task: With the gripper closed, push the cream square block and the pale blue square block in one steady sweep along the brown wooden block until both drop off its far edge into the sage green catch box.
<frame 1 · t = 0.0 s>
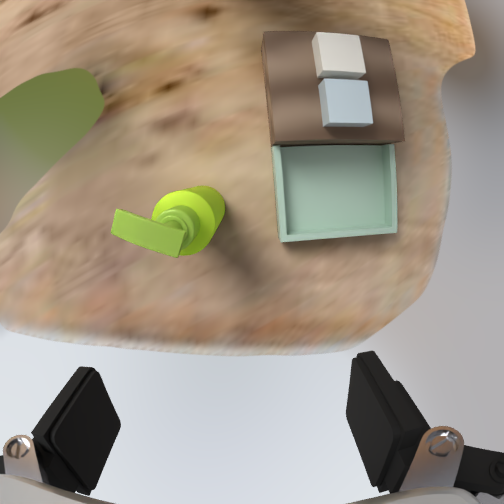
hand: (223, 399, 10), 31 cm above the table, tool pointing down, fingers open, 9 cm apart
brown wooden block: (325, 94, 35), on the table
cream square block: (334, 60, 29), point 6 cm above the table, touching brown wooden block
catch box: (334, 189, 39), on the table
soap dispenser: (199, 206, 39), on the table
pale blue square block: (341, 105, 30), point 6 cm above the table, touching brown wooden block
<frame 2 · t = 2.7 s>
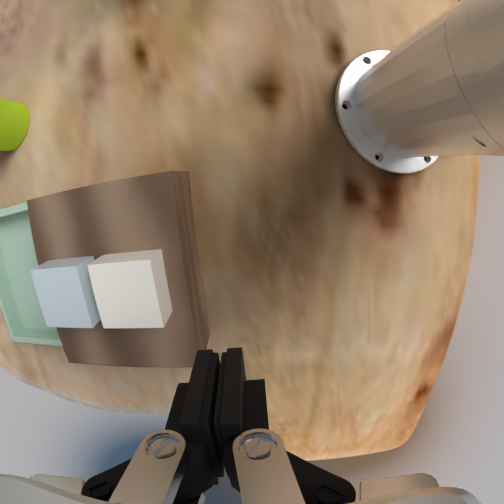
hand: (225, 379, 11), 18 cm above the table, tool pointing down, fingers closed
brown wooden block: (130, 263, 28), on the table
cream square block: (137, 282, 22), point 6 cm above the table, touching brown wooden block
catch box: (36, 271, 28), on the table
soap dispenser: (15, 122, 24), on the table
pale blue square block: (76, 286, 22), point 6 cm above the table, touching brown wooden block
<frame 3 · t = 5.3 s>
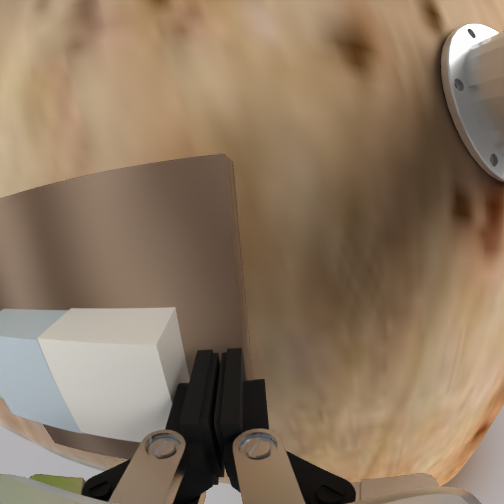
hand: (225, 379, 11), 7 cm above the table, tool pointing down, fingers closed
brown wooden block: (134, 306, 18), on the table
cream square block: (132, 359, 12), point 6 cm above the table, touching gripper, brown wooden block
pale blue square block: (49, 354, 12), point 6 cm above the table, touching brown wooden block
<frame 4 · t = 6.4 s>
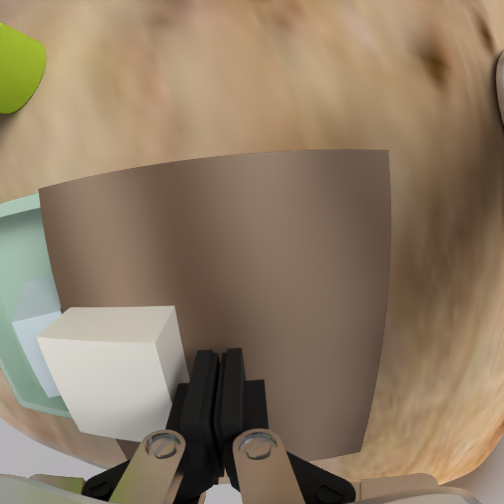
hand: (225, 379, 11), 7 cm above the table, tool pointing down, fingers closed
brown wooden block: (228, 303, 18), on the table
cream square block: (131, 358, 12), point 6 cm above the table, touching gripper, brown wooden block
catch box: (51, 309, 18), on the table
soap dispenser: (21, 70, 14), on the table
pale blue square block: (73, 328, 15), point 3 cm above the table, tilted 59°
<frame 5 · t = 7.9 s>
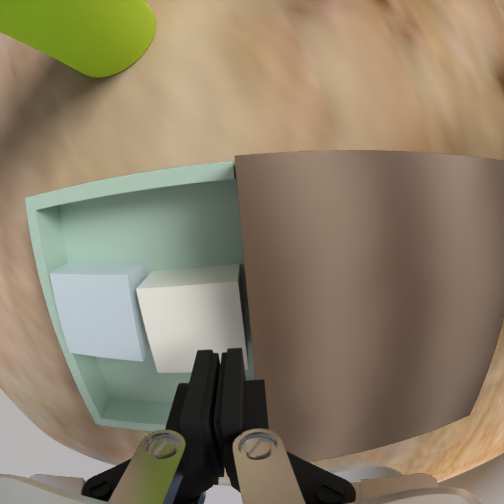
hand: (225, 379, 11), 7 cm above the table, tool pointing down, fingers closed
brown wooden block: (364, 290, 18), on the table
cream square block: (200, 308, 17), point 1 cm above the table, touching catch box
catch box: (153, 308, 18), on the table
soap dispenser: (116, 31, 14), on the table
pale blue square block: (93, 318, 14), point 3 cm above the table, tilted 180°, touching catch box
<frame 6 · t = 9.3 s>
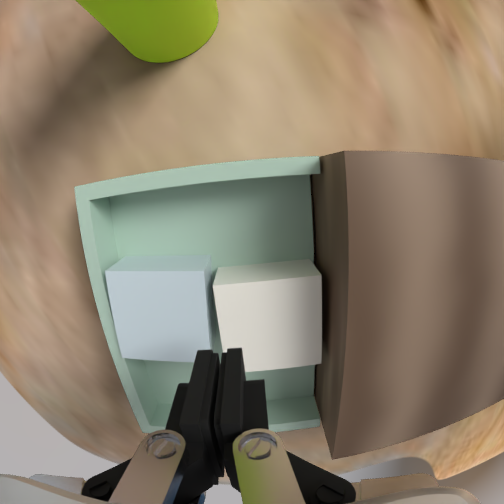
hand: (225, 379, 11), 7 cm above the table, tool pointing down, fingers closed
brown wooden block: (416, 284, 18), on the table
cream square block: (267, 305, 17), point 1 cm above the table, touching catch box
catch box: (213, 307, 18), on the table
soap dispenser: (173, 17, 13), on the table
pale blue square block: (157, 319, 14), point 3 cm above the table, tilted 180°, touching catch box
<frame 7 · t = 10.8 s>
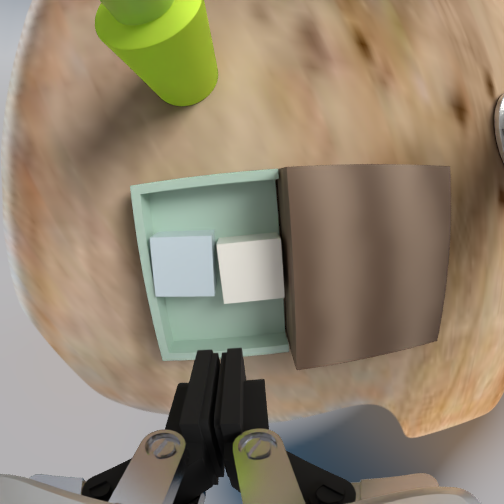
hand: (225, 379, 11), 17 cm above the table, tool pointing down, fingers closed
brown wooden block: (354, 251, 28), on the table
cream square block: (250, 262, 27), point 1 cm above the table, touching catch box
catch box: (215, 265, 27), on the table
soap dispenser: (188, 72, 23), on the table
pale blue square block: (182, 267, 24), point 3 cm above the table, tilted 180°, touching catch box
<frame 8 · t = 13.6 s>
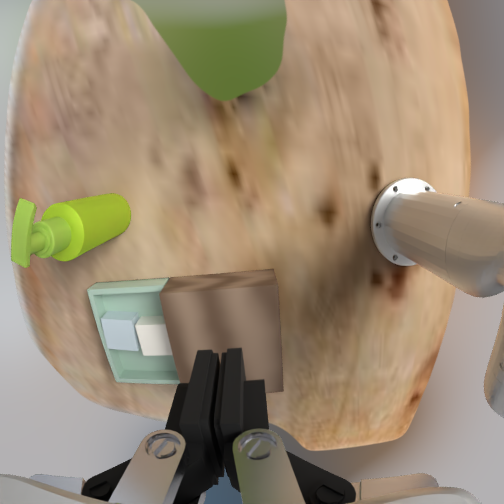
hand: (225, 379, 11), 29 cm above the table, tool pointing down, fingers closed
brown wooden block: (227, 326, 42), on the table
cream square block: (160, 331, 42), point 1 cm above the table, touching catch box
catch box: (142, 330, 42), on the table
soap dispenser: (113, 210, 38), on the table
pale blue square block: (119, 335, 39), point 3 cm above the table, tilted 180°, touching catch box
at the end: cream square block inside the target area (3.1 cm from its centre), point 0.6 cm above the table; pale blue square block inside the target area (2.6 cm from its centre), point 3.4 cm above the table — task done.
